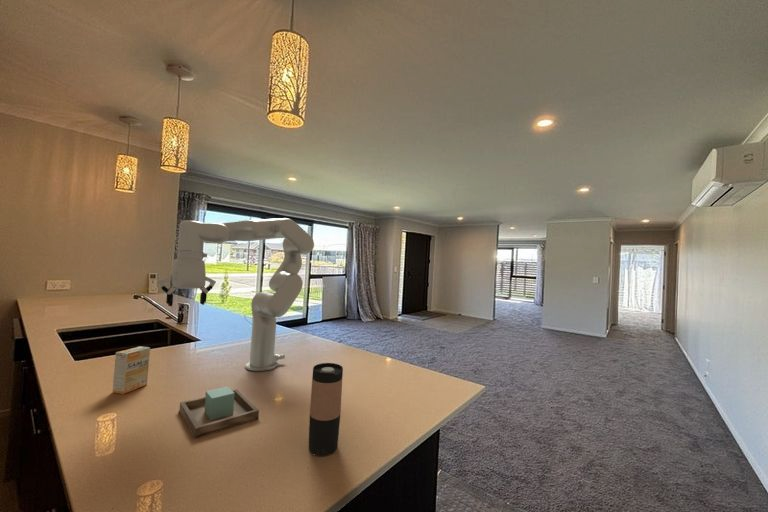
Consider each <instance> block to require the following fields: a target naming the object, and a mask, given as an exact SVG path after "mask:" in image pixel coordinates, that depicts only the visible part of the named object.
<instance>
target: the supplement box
mask: <svg viewBox="0 0 768 512" xmlns="http://www.w3.org/2000/svg"><path fill="white" fill-rule="evenodd" d="M150 355H151V347H149V346H136V347H132V348H128V349H124V350H120V351H116V352H115V358H114V370H113V371H114V372H113V380H112V381H113V383H112V393H116V394H121V395H124V394H127V393H129V392H132V391H134V390H137V389H140V388H141V387H145V386H147V385H148V379H149V377H148V375H149V368H150V367H149V365H150V364H149V363H150Z"/></svg>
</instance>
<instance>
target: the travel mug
mask: <svg viewBox="0 0 768 512" xmlns="http://www.w3.org/2000/svg"><path fill="white" fill-rule="evenodd" d="M343 369H344V368H343V366H342V365H340V364H338V363H333V362H323V363H317V364H316V365H314V366H313V368H312V377H311V378H312V379H311V392H310V404H309V419H308V421H309V424H308V425H309V426H308V450H309V452H310V453H311V454H312V455H313V454H315V455H314V456H316V455H320V456H319V457H322V456H321V455H324V456H323V457H326V456H325V455H327V456H330V455H332V454H334V453H335V452H336V451H337V450H338V443H339V435H340V423H341V412H342V410H341V409H342V395H343V393H342V392H343V390H342V389H343V375H344V374H343ZM329 454H330V455H329Z"/></svg>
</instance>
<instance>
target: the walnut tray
mask: <svg viewBox="0 0 768 512" xmlns="http://www.w3.org/2000/svg"><path fill="white" fill-rule="evenodd" d="M231 390H232V391H233V392H234V393H235V395H234V409H233V414H230V415H227V416H223V417H220V418H216V419H213V420H210V419H209V417H208V416H207V415H206V413H205V412H204V411H205V396H202V397H198V398H193V399H189V400H184V401H180V402H179V413H180V414H181V416H182V418H183V420H184V421H185V423H186V425H187V427H188V429H189V430H190V433H192V436H193V437H194V439H198V438H202V437H204V436H205V437H206V436H208V435H211V434H214V433H215V434H216V433H218V432H220V431H224V430H228V429H231V428H234V427H236V426H240V425H243V424H246V423H249V422H250V423H251V422H253V421H256V420H259V413H260V410H259V409H258V407H256V405H254V404H253V403H252V402H251V401H250V400H249V399H248V398H247V397H246V396H245V395H244V394H242V392H241V391H240V390H239V389H231Z"/></svg>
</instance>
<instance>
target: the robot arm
mask: <svg viewBox="0 0 768 512" xmlns="http://www.w3.org/2000/svg"><path fill="white" fill-rule="evenodd" d="M273 239H283V241H282V249H283V253H284V255H283V256H284V257H283V260H282V262H281V264H280V265H279V267H278V268H277V269H276V271H275V272H274V273H273V275H272V276H271V278H270V279H269V281H268V282H269V283H268V287H269V289H270V290H271V291H265V290H264V291H260V292H258V293H256V294H255V295H254V296H253V298H252V299H251V303H250V304H251V315H252V324H251V325H252V326H251V339H250V341H251V342H250V352H249V361H248V362H246V363H245V365H244V366H245V368H246V370H249V371H253V372H265V371H271V370H274V369H275V368H277V366H278V360H285V359H286V355H285V354H279V353H278V354H275V349H276V348H275V347H276V335H277V334H276V333H277V321H276V320H277V319H276V318H281V317H283V316H284V315H286V314H287V313H288V312H289V310H290V309H291V307H292V305H293V304H294V302H295V301H296V299H297V298H298V296H299V295H300V294H301V291H302V288H303V279H302V277H301V276H300V275H299V273H300V271H301V269H302V265H303V262H302V261H303V260H302V255H306V254H310V253H311V252H312V251H313V250H314V247H315V243H314V239H313V237H312V236H311V235H310V234H309V233H307V231H306V230H305V229H304V228H303V227H301V226H300V225H299V224H298V223H297V222H295V221H294V220H293V219H291V218H287V217H283V218H281V217H280V218H279V217H278V218H265V219H261V218H259V219H247V220H246V219H245V220H239V221H232V222H230V221H229V222H202V221H197V220H190V219H189V220H188V219H187V220H181V221H180V222H179V227H178V239H177V240H178V241H177V257H176V259H175V258H174V259H173V262H172V266H171V270H170V275H169V276H167V277H165V278H162V279H160V280H158V281H157V284H158V286H159V287H160V289H161V290H162V291H163V292H164V293H166V303H165V304H167V306H169V307H173V304H174V303H173V302H174V294H173V293H174V292H175V291H176V290H177V289H179V290H180V289H183V290H184V289H185V290H188V289H193V290H194V289H199V290H200V291H201V293H200V298H199V299H200V300H199V304H200V305H203V306H204V305H205V303H207V296H208V295H207V294H208V293H209V292H210V291H211V290H213V288H214V286H215V284H216V280H214V279H212V278H210V277H208V276H206V273H207V272H206V264H205V260H204V258H207V257H208V253H205V252H204V244H218V245H219V244H223V243H225V242H235V241H237V242H255V241H262V240H273ZM206 281H207V282H208V283H209V284H208V286H206ZM168 282H169V286H170V287H169V288H167V286H165V283H168ZM205 286H206V287H205ZM272 291H273V292H272Z"/></svg>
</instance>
